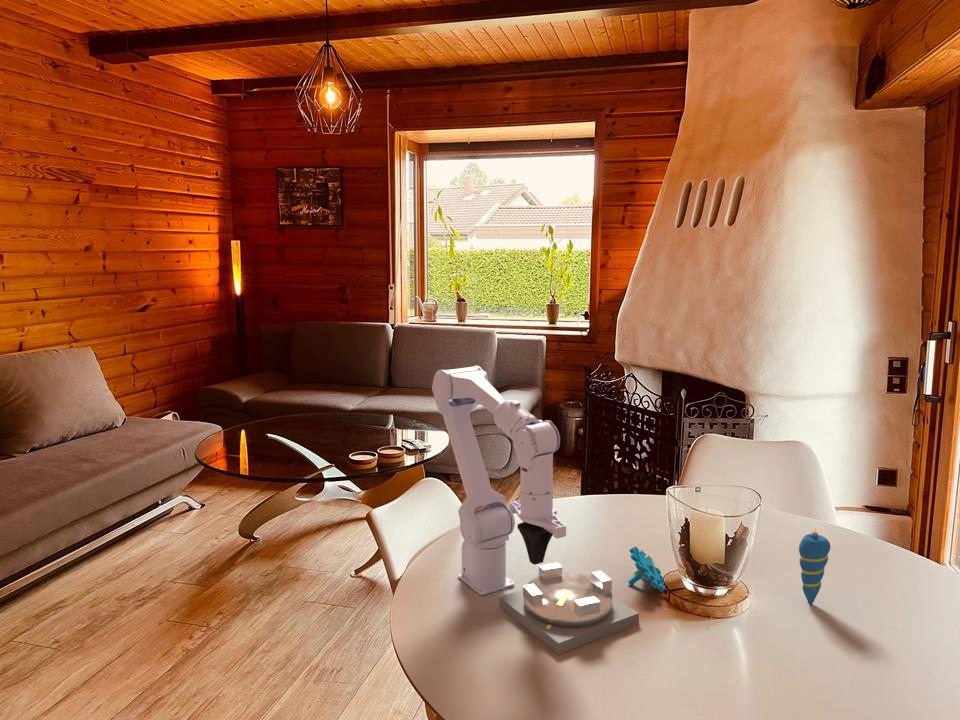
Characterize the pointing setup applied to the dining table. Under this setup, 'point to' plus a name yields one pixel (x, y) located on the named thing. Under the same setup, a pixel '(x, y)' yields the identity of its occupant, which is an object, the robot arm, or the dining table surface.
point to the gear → (646, 569)
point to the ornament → (813, 563)
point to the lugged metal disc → (568, 597)
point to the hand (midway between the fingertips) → (536, 562)
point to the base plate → (568, 637)
